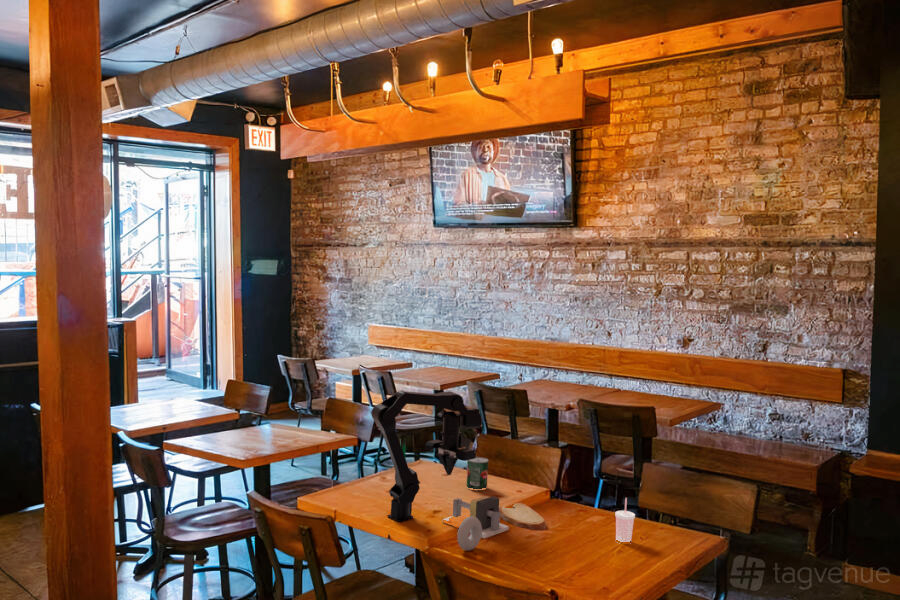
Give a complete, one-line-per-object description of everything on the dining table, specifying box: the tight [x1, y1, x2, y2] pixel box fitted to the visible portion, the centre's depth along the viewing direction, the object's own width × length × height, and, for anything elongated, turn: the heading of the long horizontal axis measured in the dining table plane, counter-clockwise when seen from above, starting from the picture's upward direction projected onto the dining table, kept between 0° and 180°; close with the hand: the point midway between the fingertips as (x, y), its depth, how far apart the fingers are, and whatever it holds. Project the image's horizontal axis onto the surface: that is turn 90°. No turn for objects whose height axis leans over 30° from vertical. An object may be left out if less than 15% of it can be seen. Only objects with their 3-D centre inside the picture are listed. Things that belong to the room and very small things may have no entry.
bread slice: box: [499, 502, 547, 531], centre depth 256 cm, size 18×18×4 cm
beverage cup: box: [614, 497, 636, 542], centre depth 239 cm, size 6×6×14 cm
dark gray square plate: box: [476, 495, 500, 529], centre depth 243 cm, size 8×2×8 cm, turn 137°
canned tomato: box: [466, 456, 489, 489], centre depth 288 cm, size 8×8×11 cm
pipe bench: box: [442, 497, 510, 539], centre depth 246 cm, size 12×18×7 cm, turn 47°
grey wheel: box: [456, 516, 482, 552], centre depth 226 cm, size 10×3×10 cm, turn 141°
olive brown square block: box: [469, 495, 489, 517], centre depth 245 cm, size 7×3×7 cm, turn 137°
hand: (449, 474), depth 258 cm, fingers closed
